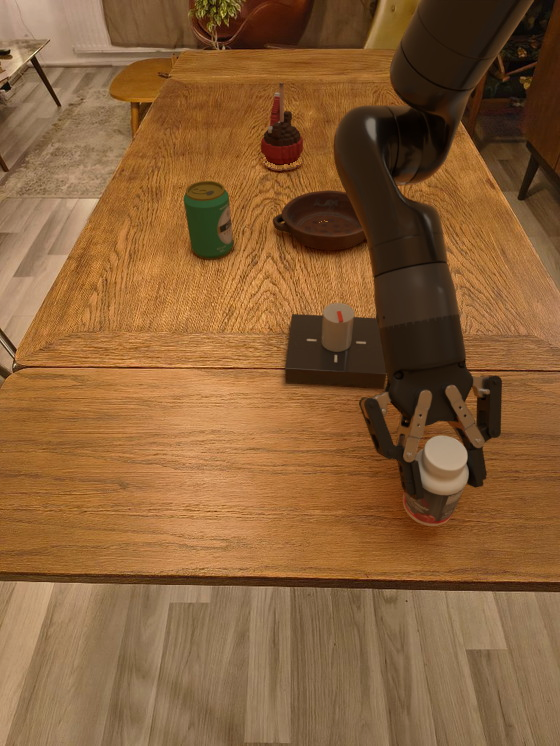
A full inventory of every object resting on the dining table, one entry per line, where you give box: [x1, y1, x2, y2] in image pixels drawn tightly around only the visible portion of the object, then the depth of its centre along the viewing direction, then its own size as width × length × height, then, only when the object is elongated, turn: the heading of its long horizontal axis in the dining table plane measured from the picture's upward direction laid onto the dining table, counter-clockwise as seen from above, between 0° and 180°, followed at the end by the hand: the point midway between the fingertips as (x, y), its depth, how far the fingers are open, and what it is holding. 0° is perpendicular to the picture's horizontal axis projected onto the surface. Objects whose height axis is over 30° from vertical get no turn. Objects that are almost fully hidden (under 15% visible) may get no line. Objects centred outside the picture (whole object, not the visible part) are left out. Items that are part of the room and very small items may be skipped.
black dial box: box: [284, 313, 387, 389], centre depth 76 cm, size 14×12×3 cm
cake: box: [260, 81, 304, 172], centre depth 118 cm, size 11×9×18 cm
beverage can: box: [182, 180, 234, 260], centre depth 94 cm, size 8×8×12 cm
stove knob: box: [321, 302, 355, 352], centre depth 73 cm, size 4×4×6 cm
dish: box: [272, 189, 367, 251], centre depth 100 cm, size 18×22×5 cm
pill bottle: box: [402, 434, 469, 527], centre depth 51 cm, size 5×5×10 cm
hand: (446, 490), depth 50 cm, fingers closed on pill bottle, 5 cm apart
